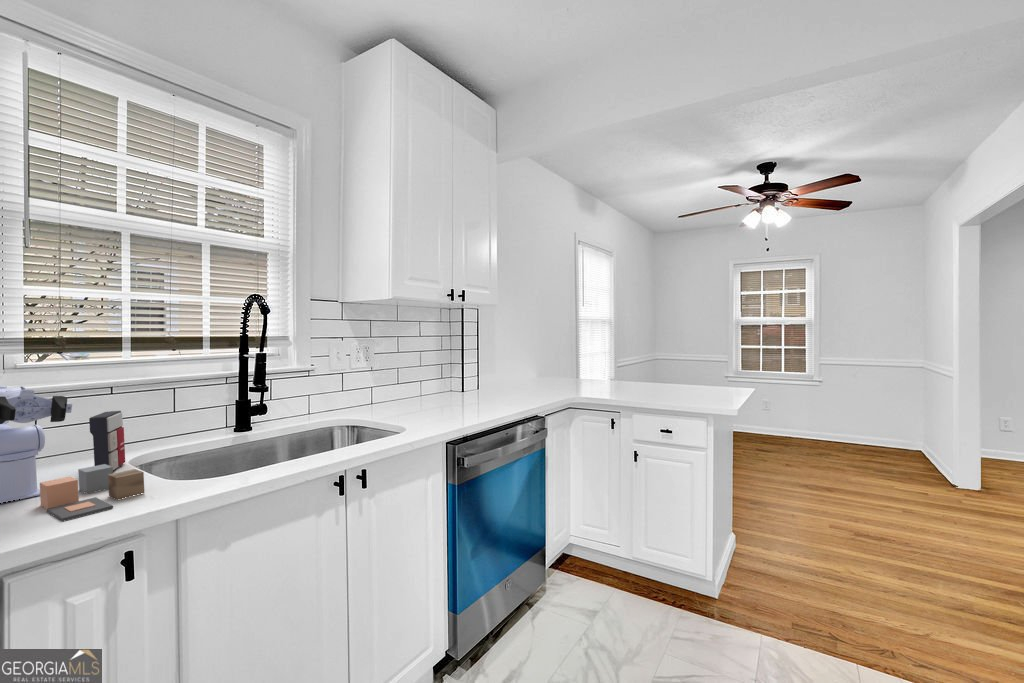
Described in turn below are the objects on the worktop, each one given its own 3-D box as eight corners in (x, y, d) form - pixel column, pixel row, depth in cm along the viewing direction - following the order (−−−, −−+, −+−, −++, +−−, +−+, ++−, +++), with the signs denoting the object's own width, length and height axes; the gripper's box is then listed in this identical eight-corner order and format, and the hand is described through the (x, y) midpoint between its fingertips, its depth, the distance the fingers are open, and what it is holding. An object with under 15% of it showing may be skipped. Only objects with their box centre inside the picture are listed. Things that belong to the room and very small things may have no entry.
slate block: (79, 490, 116) (78, 469, 116) (105, 484, 120) (104, 464, 120) (86, 494, 113) (85, 472, 113) (113, 487, 117) (112, 466, 117)
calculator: (112, 473, 129) (109, 416, 129) (91, 475, 128) (88, 417, 127) (127, 463, 139) (124, 410, 139) (108, 465, 138) (105, 411, 137)
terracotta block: (40, 505, 106) (39, 482, 106) (71, 498, 110) (70, 476, 110) (47, 510, 103) (46, 486, 103) (78, 502, 107) (77, 479, 107)
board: (46, 511, 102) (46, 507, 102) (95, 499, 109) (95, 496, 109) (62, 521, 96) (62, 517, 96) (112, 508, 103) (112, 504, 103)
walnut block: (109, 496, 111) (107, 474, 111) (135, 490, 115) (134, 468, 115) (117, 500, 108) (116, 477, 108) (144, 493, 112) (143, 472, 112)
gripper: (-28, 387, 102) (-10, 394, 95) (64, 387, 114) (86, 393, 107) (-32, 421, 102) (-15, 431, 94) (60, 418, 114) (82, 426, 107)
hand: (38, 413), depth 101 cm, fingers open, 7 cm apart
